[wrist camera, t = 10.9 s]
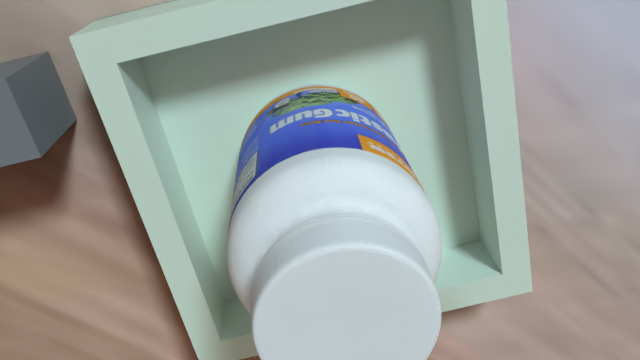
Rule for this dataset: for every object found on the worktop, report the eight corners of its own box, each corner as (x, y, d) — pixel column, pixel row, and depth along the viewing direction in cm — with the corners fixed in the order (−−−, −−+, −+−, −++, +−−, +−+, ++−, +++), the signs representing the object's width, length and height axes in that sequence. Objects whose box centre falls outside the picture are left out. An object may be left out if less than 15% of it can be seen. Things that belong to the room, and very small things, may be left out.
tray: (97, 19, 19) (68, 36, 16) (466, -72, 19) (499, -70, 16) (209, 317, 24) (202, 368, 22) (502, 248, 24) (532, 291, 21)
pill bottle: (408, 96, 20) (518, 230, 12) (371, 233, 22) (440, 437, 14) (252, 66, 20) (239, 187, 11) (227, 212, 22) (200, 414, 13)
